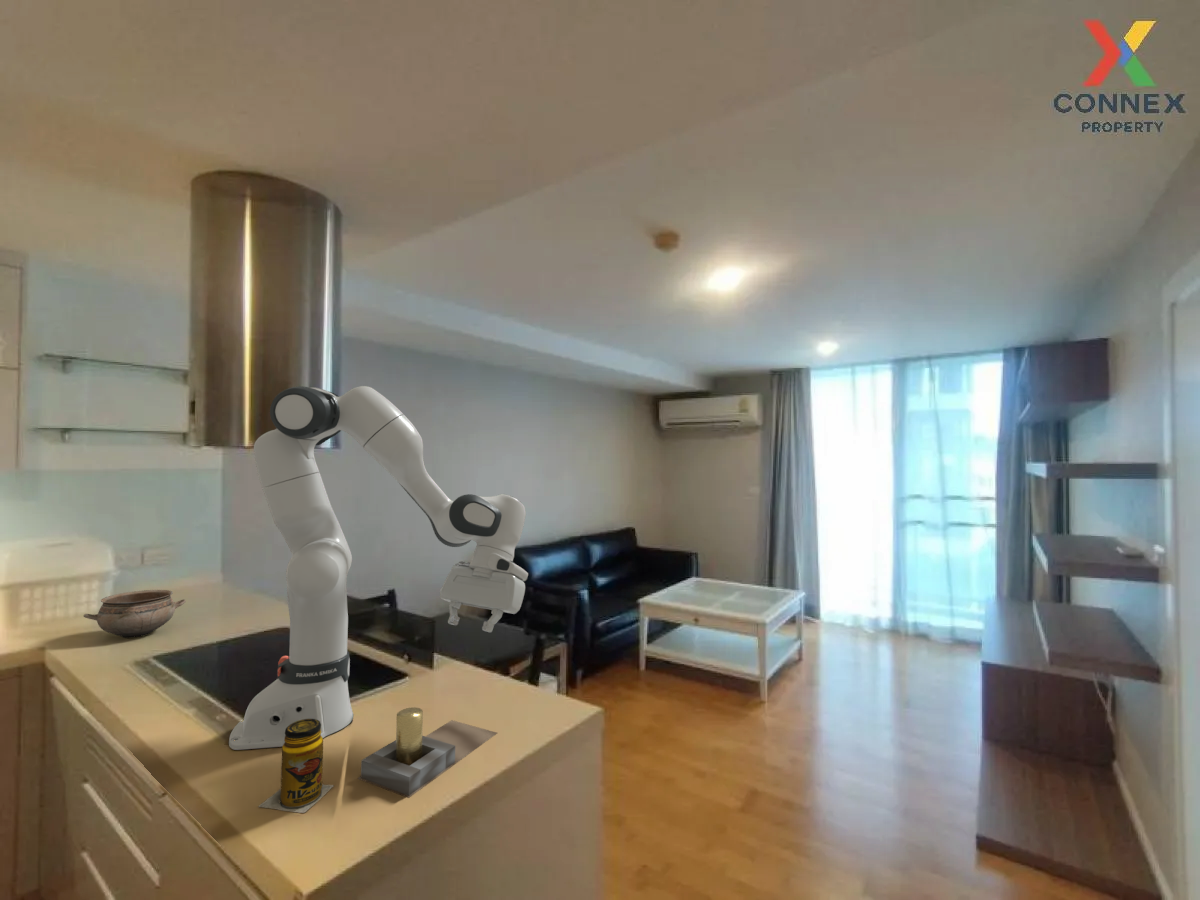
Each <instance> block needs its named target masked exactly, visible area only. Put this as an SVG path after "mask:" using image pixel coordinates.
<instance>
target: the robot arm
mask: <svg viewBox="0 0 1200 900" xmlns="http://www.w3.org/2000/svg"><path fill="white" fill-rule="evenodd" d="M269 415H270V420H271V421H272V423H273V426H274V427H275V429H272V430H269V431H267V432H265V433H263V434H261V435H260V436H259V437H258V438H257V439H256V440H255V442H254V445H253V452H254V461H255V462H254V463H255V467H256V471H257V476H258V480H259V482H260V485H261V488H262V491H263V494H264V497H265V500H266V503H267V506H268V508H269V511H270V514H271V517H272V519H273V522H274V525H275V527H277V529H278V531H279V532H280V534H281V535H282V537H283V539H284V541H285V542H286V544H287V545H286V546H287V547H288V549H289V551H290V553H291V558H290V559H289V561H288V563H287V566H286V569H285V570H286V571H285V572H286V573H285V580H286V597H287V604H288V605H287V607H288V613H289V652H288V653H289V655H283V656H281V657H280V658H279V661H278V662H277V663H278V664H277V670H276V671H277V672H276V673H277V674H276V675H277V678H276V680H275V679H274V681H273V682H271V683H270V684H269V685H267V687H264V688H263V689H262V690H261V691H260V692H259V693H257V694H256V695H255V696H254V697H253V698H252V700H251V701H250V702H249V704H248V706H247V709H246V710H245V714H244V717H243V719H244V721H243V722H241V721H242V720H240V721H239V722H238V723H237V724H236V725H235V726H234V727H233V729H232V731H231V733H230V734H229V738H228V739H229V740H228V745H229V748H230V749H232V750H235V751H240V750H251V749H252V750H253V749H255V750H256V749H266V748H267V749H269V748H278V747H279V748H280V747H282V746H283V744H284V743H285V741H284V739H285V730H286V728H287V727H288V726H289V725H290V724H292V723H294V722H296V721H299V720H303V719H316V720H319V721H320V723H321V736H322V738H323V739H324V738H325V737H328V736H330V735H331V734H334V733H337V732H339V731H341V730H342V729H344V728H346V727H347V726H348V725H350V723H351V722H352V721H353V719H354V715H355V714H354V712H353V711H354V710H353V708H352V705H351V700H350V693H349V683H348V680H349V678H350V667H351V665H350V663H351V662H350V661H351V659H350V652H349V651H348V639H349V638H348V632H349V631H348V630H349V629H348V628H349V615H348V613H349V611H348V597H347V594H348V592H347V589H348V588H347V583H348V582H347V580H348V573H349V571H350V569H351V566H352V563H353V562H352V561H353V555H352V552H351V548H350V546H349V543H348V541H347V539H346V537H345V534H344V532H343V530H342V527H341V525H340V522H339V520H338V518H337V515H336V514H335V511H334V509H333V506H332V505H331V504H332V503H331V501H330V499H329V496H328V493H327V490H326V487H325V484H324V481H323V478H322V475H321V472H320V469H319V467H318V464H317V461H316V457H315V452H314V451H315V447H316V446H320V445H322V444H323V443H325V442H327V441H328V440H329V439H332V438H333V437H335V436H336V435H338V434H339V433H340V432H345V433H347V434H349V436H351V437H352V438H353V439H354V440H355V441H356V442H357V443H358V444H359V445H360V446H361V447H362V448H363V449H364V450H365V451H366V452H367V453H368V454H369V456H370V457H372V458H373V459H374V460H375V461H376V462H377V463H378V464H379V465H380V466H381V467H382V468H383V469H385V470H386V472H387V473H389V475H391V477H393V479H394V480H395V481H397V483H399V485H400V487H401V488H402V489H404V491H405V492H406V494H408V496H409V497H410V498H411V499H412V501H414V502H415V504H417V506H418V507H419V508H420V509H421V511H422V512H423V513H424V514H425V515H426V516H427V518H428V520H429V522H430V524H431V527H432V530H433V532H434V535H435V537H436V538H437V539H438V541H439V542H441V543H442V544H443V545H445V546H447V547H450V548H460V547H463V546H466V545H467V544H468V543H470V542H471V541H473V542H475V543H476V546H475V549H474V552H473V554H472V558H471V560H470V562H469V561H468V562H466V561H458V562H457V563H455V564H454V565H452V567H451V569H450V571H449V573H448V574H447V576H446V577H445V580H444V582H443V584H442V586H441V588H440V589H439V590H440V591H439V597H440V599H441V600H444V601H445V602H448V603H449V604H448V610H449V617H448V619H447V623H448V624H449V625H453V626H458V625H459V622H460V619H461V618H460V617H459V616H458V610H460V609H461V606H462V605H463V606H468V607H473V608H474V607H475V608H479V609H486V610H491V614H492V615H491V616H490V617H489V619H488V620H487V621H486V620H485V621H483V623H482V624H483V625H482V626H481V630H482V631H484V632H488V633H492V632H493V629H494V626H495V625H496V624H497V623H498V622H499V621H500V620H501V618H502V617H503V614H504V613H507V614H513V615H515V614H517V613H518V612H519V611H520V609H521V607H522V604H523V600H524V596H525V593H526V583H525V582H526V581H527V580H528V576H529V572H527V571H526V570H525V569H524V568H522V567H521V566H519V565H517V564H516V563H515V562H514V558H515V549H516V547H517V545H518V544H519V542H520V540H521V537H522V533H523V530H524V526H525V521H526V515H527V514H526V507H525V505H524V504H523V503H522V502H521V501H520V500H519V499H517V498H516V497H514V496H512V495H509V494H505V493H500V494H498V495H492V496H480V495H475V494H470V493H469V494H463V495H460V496H458V497H456V498H455V499H454V500H452V499H450V498H449V497H448V496H447V495H446V493H445V492H444V491H443V489H441V488H440V486H439V485H438V484H437V483H436V482H435V480H434V479H433V478H432V477H431V475H429V473H428V471H427V469H426V466H425V463H424V442H423V438H422V436H421V434H420V433H419V431H418V430H417V428H416V426H415V425H414V424H413V423H412V421H411V420H409V418H407V416H406V415H405V414H404V413H403V412H402V411H401V410H400V409H399V408H398V407H397V406H396V405H395V404H393V402H392V401H390V400H389V399H388V398H387V397H385V396H384V395H383V394H382V393H380V392H379V391H377V390H376V389H375V388H373V387H371V386H368V385H360V386H356V387H354V388H352V389H350V390H348V391H346V392H345V393H344V394H342V395H340V396H339V395H338V394H336V393H334V392H333V391H328V390H326V389H322V388H321V387H320V388H319V387H312V386H311V387H310V386H309V387H308V386H301V385H299V386H292V387H289V388H286V389H283V390H282V391H281V392H279V393H278V394H276V396H275V397H274V399H273V400H272V401H271V405H270V408H269ZM234 740H235V741H234Z"/></svg>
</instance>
